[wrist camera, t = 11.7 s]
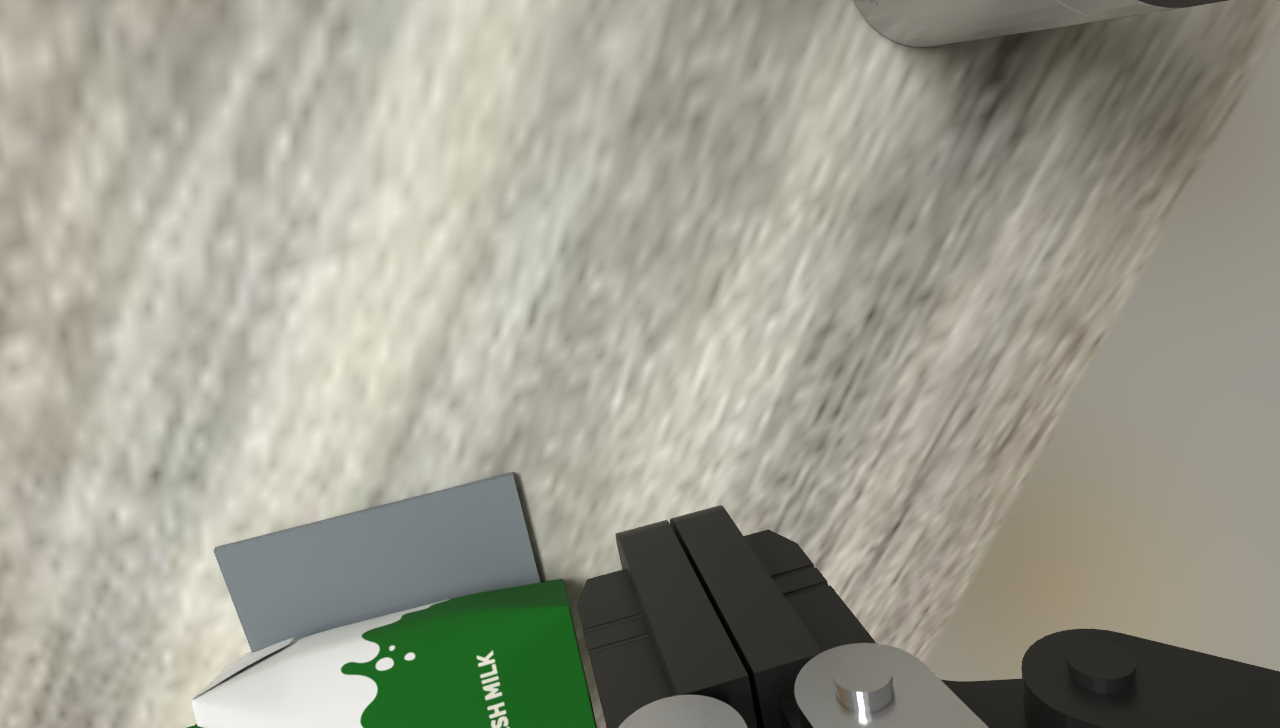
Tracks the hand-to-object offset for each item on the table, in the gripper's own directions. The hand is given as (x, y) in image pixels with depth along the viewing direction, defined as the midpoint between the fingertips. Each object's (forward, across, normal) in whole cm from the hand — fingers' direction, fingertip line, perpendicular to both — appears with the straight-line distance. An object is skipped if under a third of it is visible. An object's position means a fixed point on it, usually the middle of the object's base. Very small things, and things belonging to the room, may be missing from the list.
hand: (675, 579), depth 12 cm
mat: (+35, +11, +20) cm, 42 cm away
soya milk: (+30, +2, +22) cm, 37 cm away
